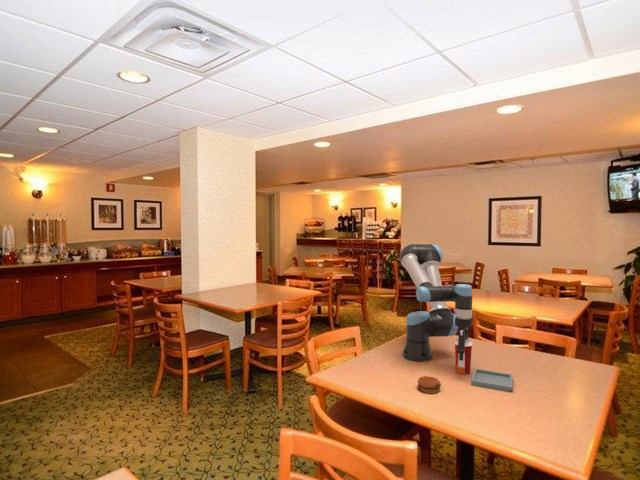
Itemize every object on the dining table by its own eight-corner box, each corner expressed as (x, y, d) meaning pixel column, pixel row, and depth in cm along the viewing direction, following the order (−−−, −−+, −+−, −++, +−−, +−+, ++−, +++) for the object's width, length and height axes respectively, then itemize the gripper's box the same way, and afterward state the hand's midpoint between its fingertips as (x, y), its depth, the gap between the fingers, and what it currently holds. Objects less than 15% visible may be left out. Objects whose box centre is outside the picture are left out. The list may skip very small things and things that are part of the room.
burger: (433, 396, 154) (433, 385, 154) (413, 389, 161) (413, 378, 160) (444, 389, 161) (444, 378, 161) (424, 383, 168) (425, 372, 167)
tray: (474, 372, 179) (474, 368, 179) (512, 378, 172) (512, 374, 172) (471, 385, 165) (471, 380, 165) (512, 392, 157) (512, 387, 157)
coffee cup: (469, 369, 183) (469, 338, 183) (474, 375, 175) (475, 343, 175) (451, 368, 184) (451, 337, 184) (455, 375, 176) (456, 343, 175)
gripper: (458, 311, 191) (458, 353, 192) (451, 322, 169) (450, 369, 170) (474, 313, 188) (474, 355, 188) (469, 324, 166) (468, 372, 166)
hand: (463, 362), depth 179 cm, fingers open, 13 cm apart
